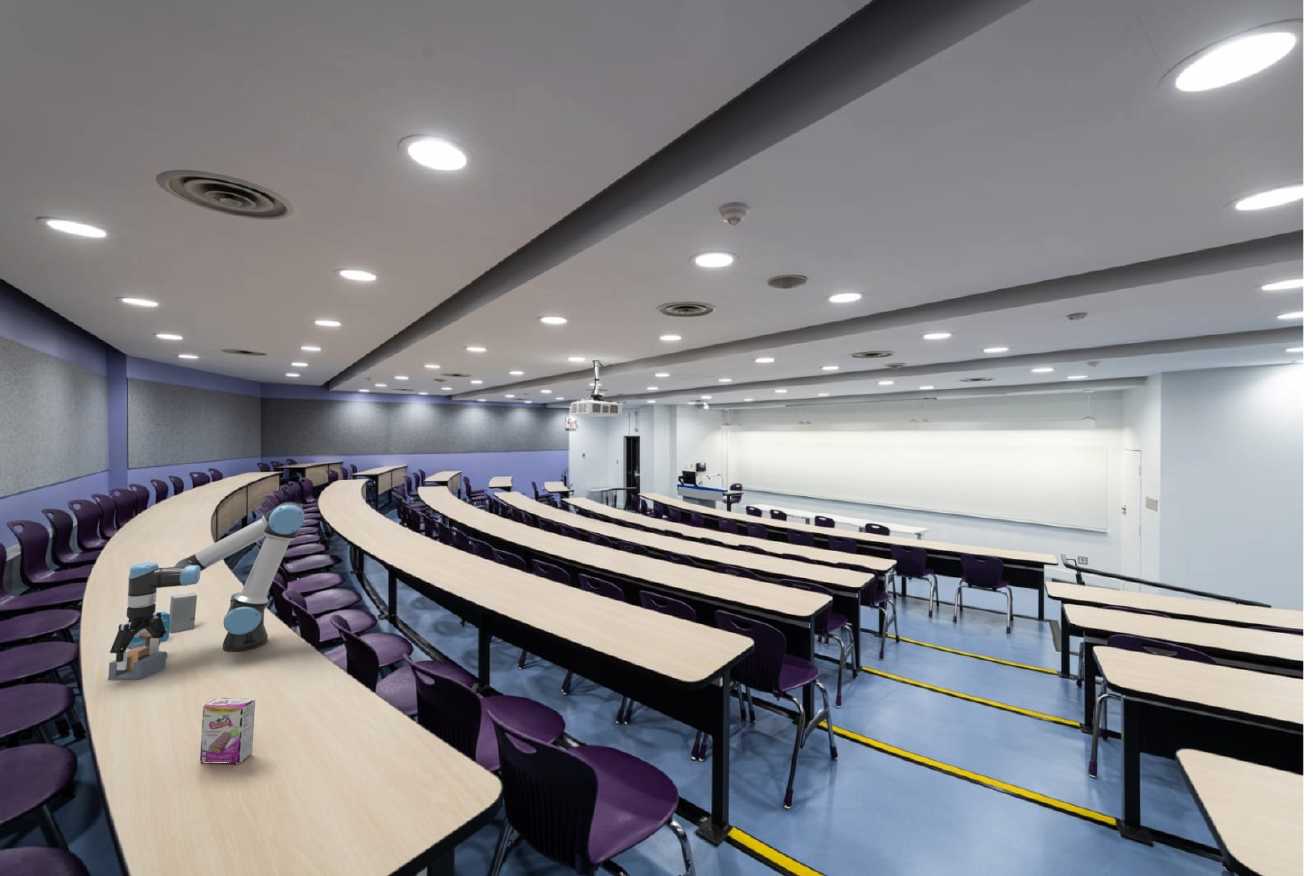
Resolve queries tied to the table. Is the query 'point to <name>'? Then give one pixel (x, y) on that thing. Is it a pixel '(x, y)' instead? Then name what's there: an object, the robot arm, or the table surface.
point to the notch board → (139, 667)
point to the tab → (136, 657)
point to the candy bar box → (227, 730)
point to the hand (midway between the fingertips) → (138, 662)
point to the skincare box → (182, 612)
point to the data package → (141, 641)
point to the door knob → (147, 638)
